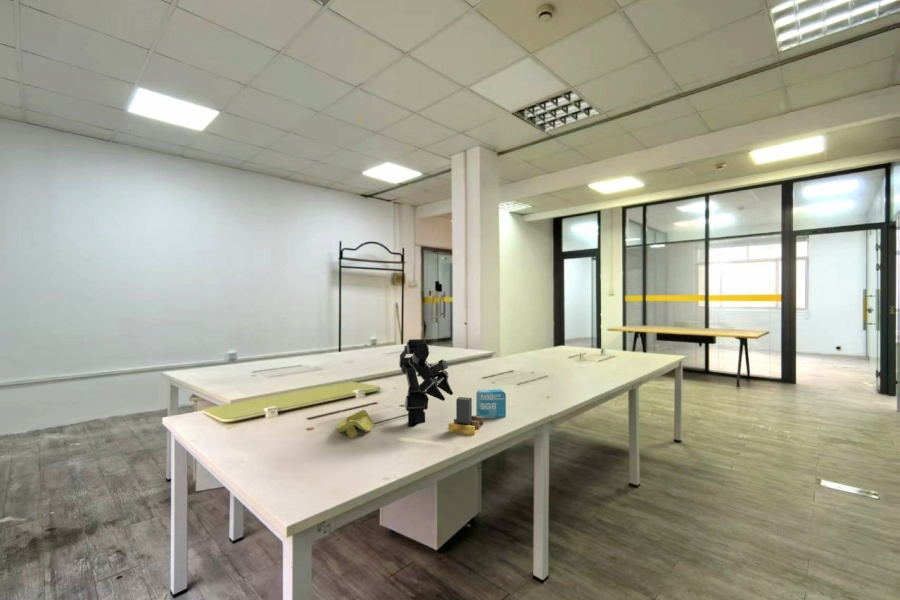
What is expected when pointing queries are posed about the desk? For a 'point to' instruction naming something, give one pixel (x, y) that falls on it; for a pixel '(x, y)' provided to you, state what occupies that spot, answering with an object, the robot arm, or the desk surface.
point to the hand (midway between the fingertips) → (448, 397)
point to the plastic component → (356, 423)
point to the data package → (491, 403)
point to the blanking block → (464, 411)
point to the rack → (467, 426)
